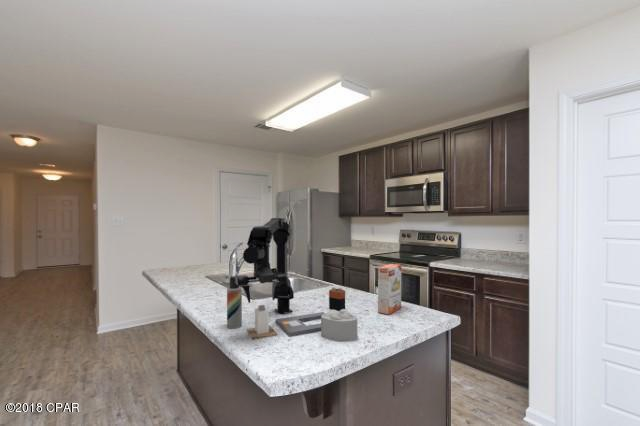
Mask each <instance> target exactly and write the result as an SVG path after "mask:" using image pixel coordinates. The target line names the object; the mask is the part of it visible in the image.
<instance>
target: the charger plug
mask: <svg viewBox="0 0 640 426" xmlns="http://www.w3.org/2000/svg"><path fill="white" fill-rule="evenodd" d="M269 312H270V311H269V309H267V308H266V306H265V304H260V305H258V308H254V328H255V331H256V332H257V333H258V334H263V333H269V325H270V322H269V320H270V317H269V315H270V313H269Z"/></svg>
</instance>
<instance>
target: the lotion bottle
mask: <svg viewBox="0 0 640 426" xmlns="http://www.w3.org/2000/svg"><path fill="white" fill-rule="evenodd" d="M236 276H237V275H231V276H230V277H229V287H228V288H226V289H227V290H226V325H227V328H229V329H238V328H240V327H241V326H242V324H243V321H242V320H243V318H242V317H243V311H242V310H243V309H242V308H243V301H242V300H243V295H242V294H243V290H242V289H243V288H242V287H240V286H238V285H237V284H236V283H235V277H236Z"/></svg>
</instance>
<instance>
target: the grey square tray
mask: <svg viewBox="0 0 640 426" xmlns="http://www.w3.org/2000/svg"><path fill="white" fill-rule="evenodd" d="M325 313H326V312H324V311H321V312H315V313H307V314H302V315H295V316H288V317H281V318H276V319H275V318H274V321H275V324H276V325H277V326H278V327H279V328H280V329H281V330H282V331H283V332H284V333H285V334H286V335H287V336H288V337H289V338H290V337H291V338H292V337H297V336H301V335H303V336H304V335H308V334H314V333H318V332H321V322H320V323H315V324H314V323H313V324H309V325H306V324H305V323H304V322H310V321H311V322H312V321H317V320H318V321H319V320H321V316H322V315H324V314H325Z"/></svg>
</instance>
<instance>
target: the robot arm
mask: <svg viewBox="0 0 640 426" xmlns="http://www.w3.org/2000/svg"><path fill="white" fill-rule="evenodd" d="M292 234H293V233H292V227H291V226H290V224H289V223H287V222H286V221H285V220H284V218H281V217H273V218H270V220H268V222H266V223H264V224H263V225H257V226H253V228H252V229H251V230H250V233H249V237H248V239H247V244H246V245H247V246H248V247H247V248H245V249H244V251H243V253H242V257H243V260H244V262H246V264H252V265H253V276H248V275H246V274H241V275H235V276H236V277H235V283H236V284H237V285H238V286H239V287H241V288H242V289H243V291H244V294H245V296H246V299H247V301H248V304H251V293H250V291H251V290H250V289H251V288H250V287H251V286H250V284H249V283H252V282H253V283H254V282H259V283H260V284H265V283H269V284H270V283H272V285H271V286H272V289H271V290H272V291H271V297H272V301H275V299H276V301H277V303H276V305H277V307H276V308H274V310H275V312H276V313H277V314H279V315H280V314H288V313H293V310H292V309H291V307H290V305H291V304H290V301H291V300H292V299H294V298H295V297H294V294H295V293H294V290H293V286H292V285H291V280H290V278H289V277H288V244H289V242H290V241H291V236H292ZM272 240H273V242H274V243H275V244H276V267H274V268H271V263H270V247H271V245H270V244H271V242H272Z"/></svg>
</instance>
